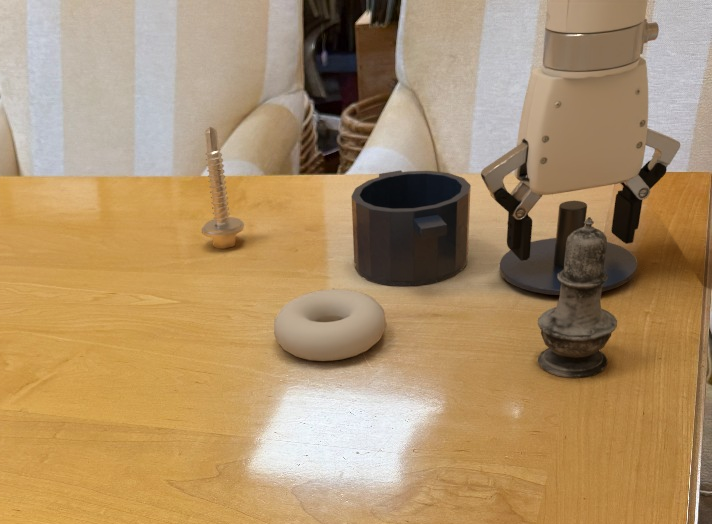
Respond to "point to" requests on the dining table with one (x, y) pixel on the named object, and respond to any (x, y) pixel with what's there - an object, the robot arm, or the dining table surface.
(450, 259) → the pot
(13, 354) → the dining table surface
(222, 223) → the screw
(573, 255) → the salt shaker
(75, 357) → the dining table surface
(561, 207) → the lid
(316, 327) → the donut
